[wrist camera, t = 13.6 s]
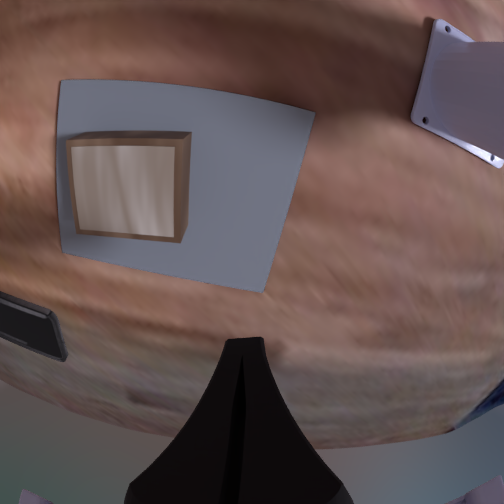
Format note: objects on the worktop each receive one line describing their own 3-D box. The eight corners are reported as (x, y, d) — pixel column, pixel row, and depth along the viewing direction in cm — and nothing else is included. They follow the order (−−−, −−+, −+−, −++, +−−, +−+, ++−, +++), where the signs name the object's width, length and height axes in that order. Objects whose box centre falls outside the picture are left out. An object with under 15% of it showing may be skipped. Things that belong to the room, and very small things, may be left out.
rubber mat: (313, 112, 16) (315, 112, 16) (262, 288, 23) (263, 292, 22) (65, 79, 14) (61, 80, 14) (65, 249, 21) (62, 252, 21)
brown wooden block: (182, 139, 14) (65, 140, 14) (180, 243, 17) (75, 234, 17) (191, 131, 16) (86, 131, 16) (188, 224, 20) (92, 216, 19)
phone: (-40, 279, 22) (52, 316, 24) (-35, 274, 23) (57, 309, 25) (-21, 327, 26) (67, 365, 28) (-17, 321, 27) (71, 357, 29)
